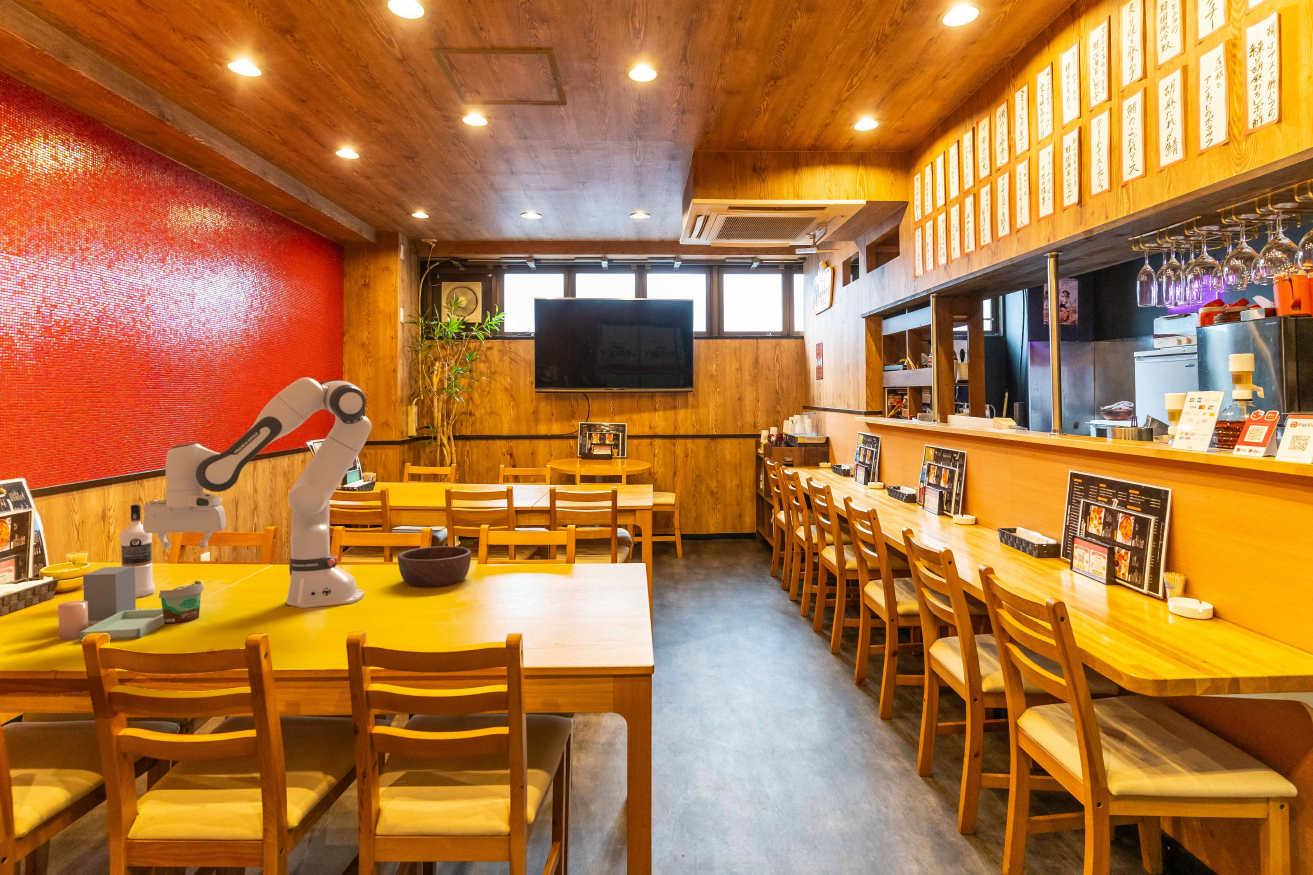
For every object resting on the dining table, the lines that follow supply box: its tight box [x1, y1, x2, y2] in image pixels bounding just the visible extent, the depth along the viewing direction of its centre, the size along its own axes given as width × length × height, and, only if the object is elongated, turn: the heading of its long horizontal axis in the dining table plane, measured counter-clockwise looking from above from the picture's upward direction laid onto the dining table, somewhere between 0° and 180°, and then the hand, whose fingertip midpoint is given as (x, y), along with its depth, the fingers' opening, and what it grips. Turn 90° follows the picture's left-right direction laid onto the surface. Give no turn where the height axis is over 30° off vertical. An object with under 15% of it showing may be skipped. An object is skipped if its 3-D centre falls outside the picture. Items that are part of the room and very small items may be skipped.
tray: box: [78, 608, 165, 643], centre depth 188 cm, size 14×20×2 cm
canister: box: [57, 600, 89, 642], centre depth 181 cm, size 6×6×9 cm
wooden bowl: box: [397, 545, 472, 588], centre depth 241 cm, size 25×25×10 cm
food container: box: [158, 580, 205, 626], centre depth 195 cm, size 12×6×10 cm, turn 168°
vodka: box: [119, 503, 156, 599], centre depth 222 cm, size 9×9×30 cm
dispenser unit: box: [82, 566, 142, 626], centre depth 197 cm, size 10×12×14 cm
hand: (185, 547), depth 195 cm, fingers open, 8 cm apart
